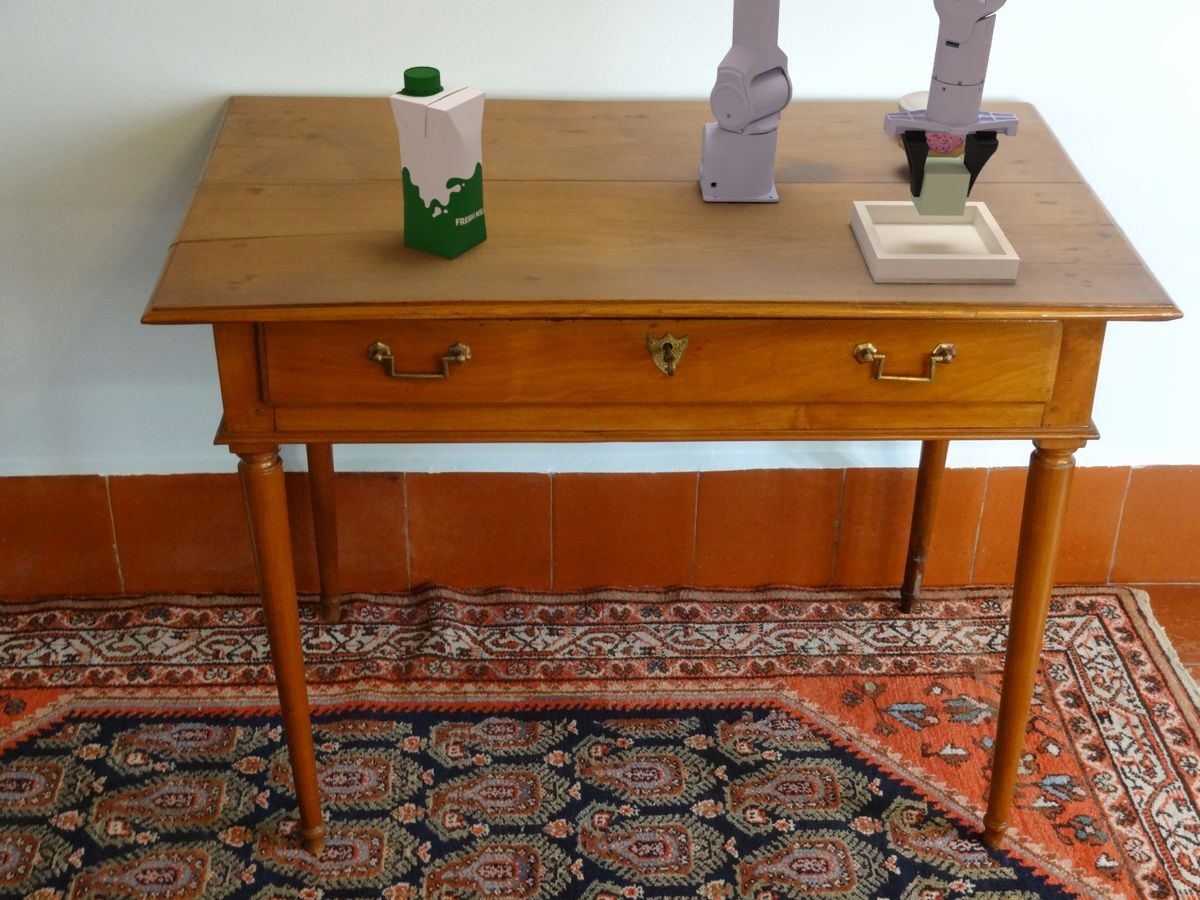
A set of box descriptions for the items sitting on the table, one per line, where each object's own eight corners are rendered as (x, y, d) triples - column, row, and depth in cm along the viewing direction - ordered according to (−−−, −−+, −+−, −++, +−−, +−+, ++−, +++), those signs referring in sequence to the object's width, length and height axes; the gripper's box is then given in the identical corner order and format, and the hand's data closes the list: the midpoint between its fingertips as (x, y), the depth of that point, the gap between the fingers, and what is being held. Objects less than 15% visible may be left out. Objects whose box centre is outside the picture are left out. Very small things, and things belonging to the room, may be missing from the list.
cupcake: (959, 189, 175) (975, 99, 168) (893, 183, 176) (906, 94, 170) (958, 165, 182) (973, 77, 175) (894, 159, 183) (907, 72, 177)
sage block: (919, 215, 154) (926, 174, 151) (910, 197, 158) (916, 157, 155) (963, 215, 154) (970, 174, 151) (953, 198, 158) (959, 157, 155)
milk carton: (438, 220, 164) (429, 57, 153) (498, 238, 160) (494, 72, 149) (392, 246, 158) (379, 78, 147) (454, 265, 154) (445, 94, 143)
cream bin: (874, 282, 152) (877, 258, 150) (850, 223, 165) (852, 200, 164) (1015, 283, 153) (1020, 259, 151) (979, 224, 166) (983, 201, 164)
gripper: (899, 88, 144) (883, 207, 151) (1034, 90, 144) (1011, 208, 152) (886, 67, 150) (871, 183, 157) (1016, 68, 150) (994, 183, 158)
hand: (939, 193), depth 155 cm, fingers closed on sage block, 5 cm apart
